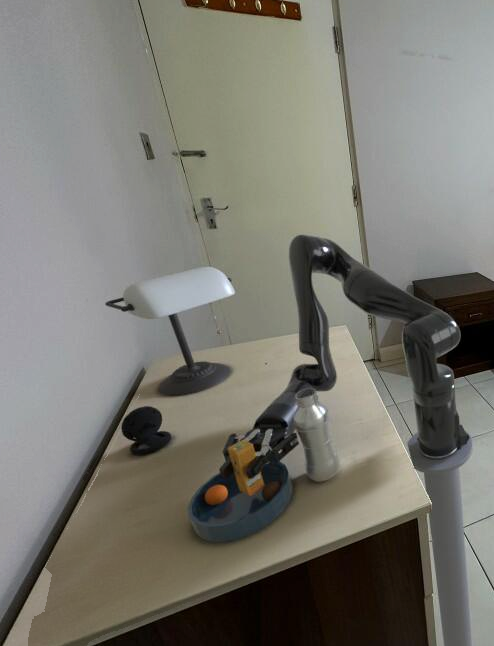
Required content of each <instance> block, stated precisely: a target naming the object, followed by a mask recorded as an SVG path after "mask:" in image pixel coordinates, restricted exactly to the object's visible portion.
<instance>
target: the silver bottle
mask: <svg viewBox="0 0 494 646" xmlns="http://www.w3.org/2000/svg"><path fill="white" fill-rule="evenodd" d="M296 404H297V406H298V408H297V410H296V412H295V414H294V417H293V424H294V427H295V429H296V430H295V431H296V433H297V436H298V438H299V439H300V441H301V445H302V449H303V451H304V458H305V459H304V460H305V461H304V462H305V463H304V464H305V466H304V467H305V473H306V474H307V476H308V478H309V479H310V480H312V481H314V482H320V483H321V482H326V481H328V480H330V479H332V478H333V477H334V476H336V474H337V473H338V472H339V469H340V467H341V458H340V455H339V453H338V451H337V450H336V447H335V445H334V442H333V439H332V433H331V428H330V427H331V426H330V425H331V424H330V412H329V411H330V410H329V409H328V407H327V406H326V405H325V404H324V403H322V402H320V401H319V395H318V393H317V391H316V390H315V389H313V388H308V389H303V390H301V391H299V392H298V393H297V394H296Z"/></svg>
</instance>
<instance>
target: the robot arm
mask: <svg viewBox="0 0 494 646" xmlns="http://www.w3.org/2000/svg"><path fill="white" fill-rule="evenodd" d="M289 243H290V244H289V247H288V262H289V269H290V274H291V275H290V276H291V282H292V285H293V286H292V287H293V291H294V297H295V302H296V308H297V316H298V351H299V352H300V354H302V355H305V356H310V357H312V358H314V359H315V361H316V362H317V363H302V364H299V365H297V366H295V368H293V370H292V373H291V375H290V378H289V382H288V384H287V386H286V388H285V389H284V390H283V391H282V393H281V394H279V396H277V397H276V398H275V399H274V400H273V401H272V402H271V403H269V405H268V406H267V407H266V408H265V410H263V412H262V413H261V414H260V415H259V416H258V417H257V419H256V420H255V422H254V425H253V427H252V428H251V429H250V430H248V431H247V432H246V433H245V434H243V435H237V433H231V434H230V435H229V436H228V438H227V440H226V443H225V444H224V447H223V449H222V455H223V458H224V460H225V461H224V462H223V463H222V465H220V467H219V469H218V471H219V473H220V474H221V477H222V479H228V478H229V476H230V475H231V474H232V473H233V472H234V469H233V466H232V462H231V459H230V455H229V452H228V448H229V447H230V446H232V445H234V444H236V443H237V442H239V441H242V440H245V441H248V442H250V443H252V444H253V447H254V450H255V454H256V453H259V455H256V457H255V459H254V460H253V461H252V462H251V464H250V465H249V466H248V468H247V469H246V474H247V477H248V479H253V478H254V477H255V476H256V475H258V474H259V473H260V471H261V470H262V469H263V467H264V466H265V465H267V464H268V463H269V462H270V461H274V462H279V461H280V462H281V461H282V459H284V458H285V457H286V456H288V454H289V453H291V452H292V451H293V450H294V449H295V448H296V447H298V446H299V445H300V441H299V435H298V433H297V432H295V431H296V429H295V427H294V424H293V417H294V414H295V412H296V410H297V408H298V406H297V404H296V394H297V393H298V392H299V391H301V390H303V389H308V388H313V389H315V390H316V392H329V391H331V390H332V389H334V388H335V386H336V384H337V382H338V381H337V380H338V374H337V370H336V366H335V363H334V360H333V357H332V352H331V349H330V324H329V319H328V316H327V313H326V311H325V309H324V307H323V306H322V303H321V302H320V299H319V298H318V296H317V294H316V291H315V288H314V285H313V274H321V275H327V276H330V277H332V278H334V279H335V280H337V281H338V282H340V283H341V289H342V292H343V295H344V297H345V298H346V299H347V300H348V302H350V303H351V304H353V305H354V306H355V307H356V308H358V309H360V311H362V312H364V313H365V314H367V315H369V316H371V317H372V316H373V317H376V318H379V319H384V320H389V321H394V322H400V323H403V324H405V325H404V326H403V327H402V331H401V345H402V351H403V355H404V361H405V367H406V371H407V374H408V378H409V379H410V382H411V389H412V396H413V397H412V398H413V404H414V405H413V406H414V413H415V420H416V429H417V432H418V438H417V442H418V441H419V450H420V453H421V454H422V455H423V456H424V457H426V458H429V459H435V460H438V459H444V458H447V457H449V456H451V455H453V454H454V453H455V452H456V451H457V450H459V449H461V445H465V444H467V442H468V440H469V438H470V436H471V435H470V433H469V434H467V433H466V432H467V431H466V429H465V428H464V426H463V424H462V423H460V415H459V413H458V411H457V401H456V387H455V386H456V385H455V373H454V371H453V369H452V368H451V367H449V366H448V365H446V364H442V363H437V359H438V358H440V357H442V356H443V355H446V354H448V353H449V352H450V351H452V350H453V349H455V348H456V347H458V345H459V343H460V341H461V337H462V336H461V330H460V327H459V325H458V323H457V322H456V320H454V319H453V317H452V316H451V315H450V314H448V313H447V312H445V311H443V310H442V309H440V308H437V307H436V306H433V305H432V304H429V303H428V302H425V301H423V300H422V299H419V298H417V297H416V296H415V295H412V294H410V293H409V292H407V291H406V290H404V289H402V288H401V287H399V286H397V285H396V284H394V283H393V282H392V281H390V280H388V278H386V277H384V276H382V274H380V273H378V272H377V271H376V270H373V269H371V268H370V267H368V266H367V265H366V264H364V263H362V262H361V261H359V260H357V259H355V258H354V257H352V256H351V254H349V252H347V251H346V250H344V249H343V248H342V247H341V246H340V245H339V244H338V243H336V242H335V241H333V240H332V239H329V238H326V237H320V236H315V235H308V234H298V235H295V236H294V237H293V238H292V240H291V241H290V242H289ZM465 431H466V432H465ZM469 435H470V436H469Z"/></svg>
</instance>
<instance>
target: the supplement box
mask: <svg viewBox="0 0 494 646" xmlns="http://www.w3.org/2000/svg"><path fill="white" fill-rule="evenodd" d="M228 452H229V455H230V459H231V462H232V466H233V469H234V473H235V476H236V480H237V483H238V486H239V490H240V491H241V492H243V493H244V494H246V495H248V496H252V495H253V494H255V493H256V492H257V491H259V490H260V489H262V488H263V487H264V486H265V485H264V482H263V478H262V475H261V471H260V473H259V474H258V475H256V476H255V477H254V478H253V479H248V477H247V474H246V469H247V468H248V466H249V465H250V464H251V462H252V461H253V460H254V459H255V457H256V456H257V454H256V453H255V450H254V447H253V444H252V443H250V442H248V441H245V440H242V441H239V442H237V443H236V444H234V445H232V446H230V447H229V448H228Z"/></svg>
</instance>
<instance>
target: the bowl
mask: <svg viewBox="0 0 494 646" xmlns="http://www.w3.org/2000/svg"><path fill="white" fill-rule="evenodd" d="M261 475H262V478H263V482H264V485H267V484H268V483H270V482H273V481H276V482H279V483H281V484H282V487H281V488H280V490H279V492H278V493H277V494H276V495H275V496H274V497H273V498H272V499H271V500H270V501H269V502H268V501H266V500H264V499H263V497H262V490H263V488H264V487H265V486H264V487H263V488H262V489H260V490H259V491H257V492H256V493H255V494H253V495H252V496H248V495H246V494H244V493H243V492H241V491H240V490H239V486H238V483H237V480H236V476H235V473H234V472H233V473H232V474H231V475H230V476H229V478H228V479H222V477H221V474H220V472H218V473H217V474H214V475H213V476H211V477H210V478H209V479H208V480H207V481H205V482H204V483H203V484H202V485H201V486H200V487H199V488H198V489H197V490H196V492H195V493H194V494H193V495H192V497H191V499H190V502H189V504H188V506H187V512H188V518H189V521H190V523H191V525H192V527H193V529H194V532H195V533H196V534H197V535H198V536H199V538H200V539H202V540H204V541H207V542H210V543H218V544H219V543H228V542H234V541H238V540H240V539H244V538H246V537H249V536H251V535H253V534H256V533H257V532H259V531H261V530H262V529H264V528H266V527H267V526H268V525H270V524H271V523H272V522H273V521H274V520H276V519H277V518H278V517H279V516H280V515H281V514H282V512H284V510H285V509H286V508H287V507H288V505H289V503H290V501H291V498H292V495H293V483H292V479H291V475H290V472H289V470H288V467H287V466H286V464H284V463H283V462H281V460H280V461H279V462H274V461H270V462H269V463H268V464H267V465H265V466H264V467H263V469H262V470H261ZM215 485H223V486H225V487H226V488H227V491H228V495H227V498H226V499H225V500H224V501H223V502H222V503H221V504H218V505H209V504H208V503H207V502H206V501H205V494H206V492H207V490H208V489H209V488H211V487H212V486H215Z"/></svg>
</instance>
